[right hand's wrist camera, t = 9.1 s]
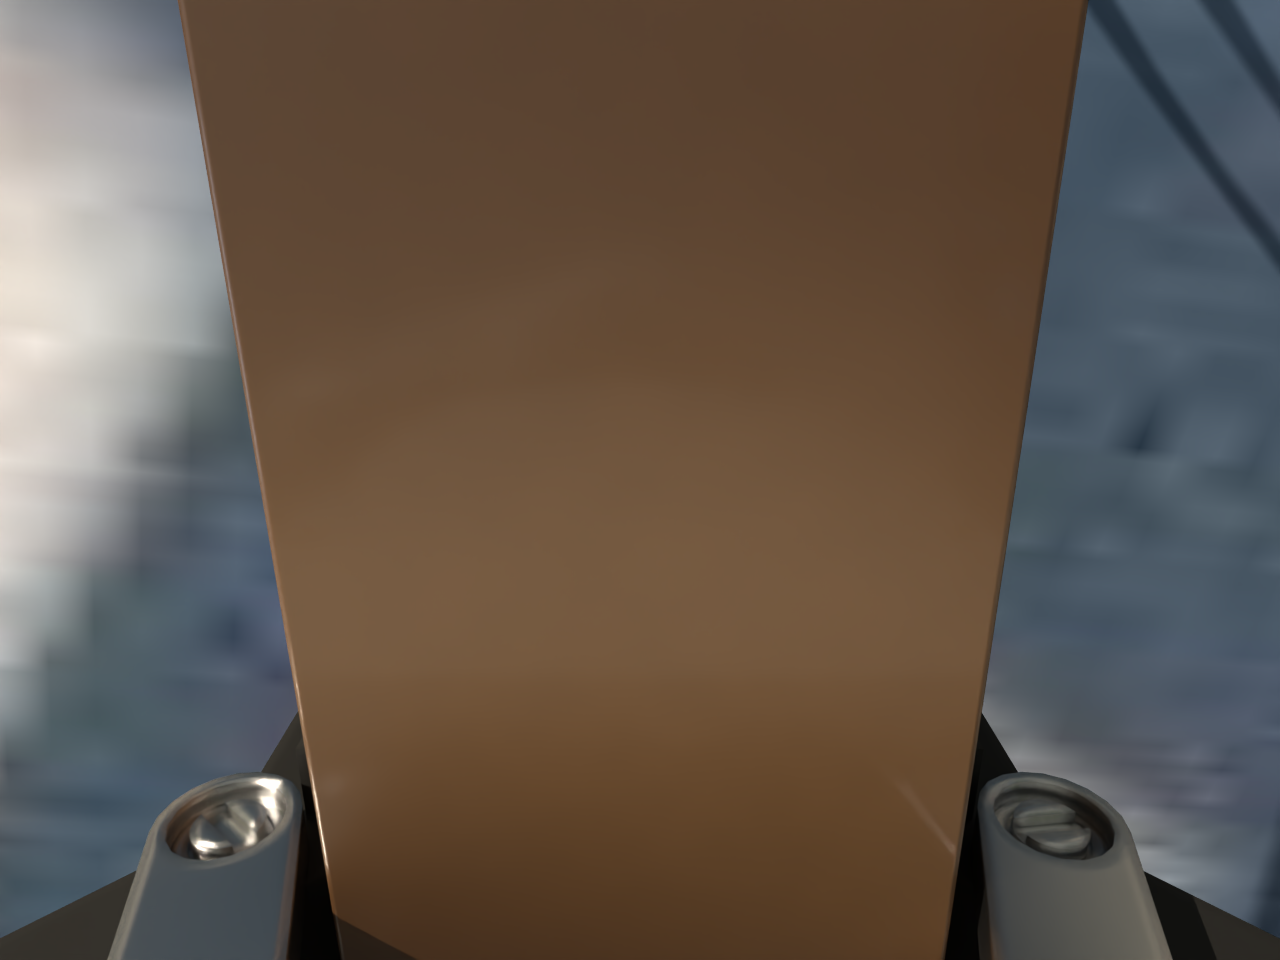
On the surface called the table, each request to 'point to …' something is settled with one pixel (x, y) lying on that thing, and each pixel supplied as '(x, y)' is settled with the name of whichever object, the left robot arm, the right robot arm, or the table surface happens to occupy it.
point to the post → (637, 447)
